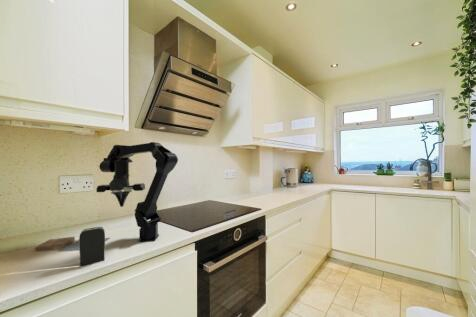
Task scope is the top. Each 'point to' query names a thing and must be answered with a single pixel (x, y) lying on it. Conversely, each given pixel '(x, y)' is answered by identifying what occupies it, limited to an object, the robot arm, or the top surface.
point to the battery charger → (92, 246)
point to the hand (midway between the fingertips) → (121, 206)
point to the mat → (74, 246)
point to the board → (55, 244)
